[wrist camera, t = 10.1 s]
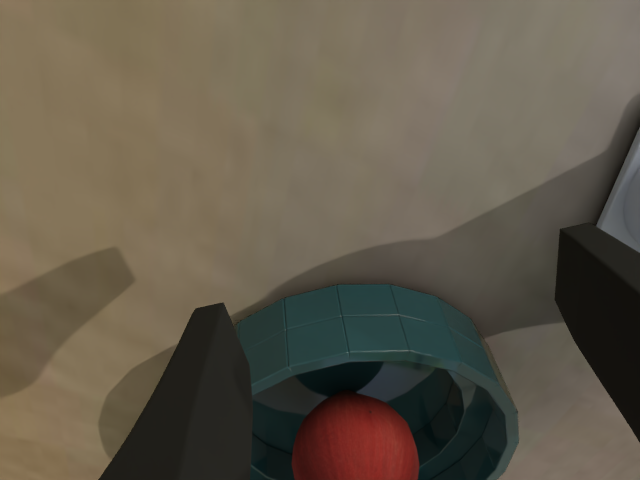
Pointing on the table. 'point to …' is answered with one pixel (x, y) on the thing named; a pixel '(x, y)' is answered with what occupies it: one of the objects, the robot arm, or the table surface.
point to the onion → (354, 441)
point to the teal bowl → (379, 376)
